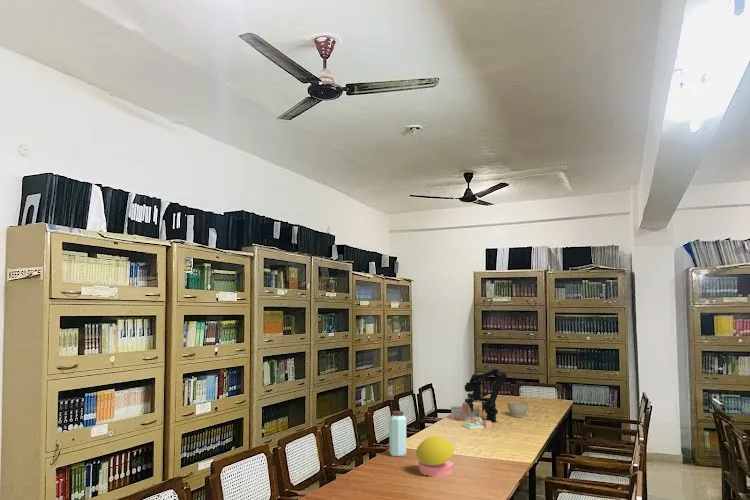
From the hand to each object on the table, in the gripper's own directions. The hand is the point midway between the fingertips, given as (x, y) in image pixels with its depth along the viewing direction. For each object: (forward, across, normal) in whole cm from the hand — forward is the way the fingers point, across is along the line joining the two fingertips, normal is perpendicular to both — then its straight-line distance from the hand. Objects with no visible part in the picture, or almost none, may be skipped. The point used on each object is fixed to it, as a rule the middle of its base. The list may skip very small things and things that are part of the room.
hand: (477, 411), depth 436 cm
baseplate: (+8, +10, +10) cm, 17 cm away
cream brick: (+9, 0, 0) cm, 9 cm away
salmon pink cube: (+9, 0, +14) cm, 17 cm away
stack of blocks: (+9, 0, -19) cm, 21 cm away
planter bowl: (+9, -46, -15) cm, 49 cm away
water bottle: (+8, +93, +67) cm, 115 cm away
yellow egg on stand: (+8, +88, +107) cm, 139 cm away
